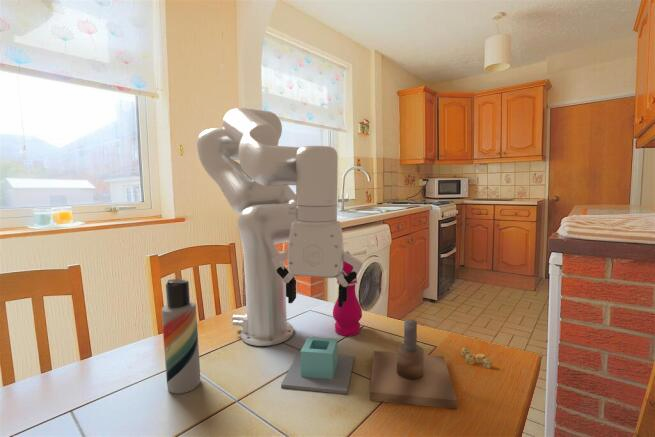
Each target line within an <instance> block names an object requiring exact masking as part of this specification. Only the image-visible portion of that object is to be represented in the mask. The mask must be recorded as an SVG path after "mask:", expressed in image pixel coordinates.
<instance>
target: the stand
mask: <svg viewBox="0 0 655 437" xmlns="http://www.w3.org/2000/svg"><path fill="white" fill-rule="evenodd" d="M403 323H404V324H403V325H404V327H403V328H404V331H403V332H404V335H403V336H404V338H403V340H404V341H403V343H400V344H398V345H397V346H396V352H393V351H383V350H382V351H381V350H373V353H372V362H371V363H372V366H371V375H370V376H371V377H370V384H369V400H370V401H375V402H385V403H395V404H402V405H403V404H404V405H405V404H406V405H412V406H413V405H415V406H424V407H433V408H434V407H435V408H445V409H453V410H454V409H457V407H458V398H457V396H456V393H455V390H454V386H453V382H452V380H451V377H450V372H449V369H448V367H447V366H448V365H447V362H446V359H445V356H444V355H435V354H424V353H425V350H424V348H423V347H422V346H420V345H418V344H417V339H418V338H417V335H418V333H417V332H418V330H417V328H418V327H417V326H418V321H417V320H415V319H411V318H409V319H408V318H407V319H405V320H404V321H403Z"/></svg>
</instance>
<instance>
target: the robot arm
mask: <svg viewBox="0 0 655 437" xmlns="http://www.w3.org/2000/svg"><path fill="white" fill-rule="evenodd" d="M282 132H283V125H282V122H281V120H280V118H279V116H278V115H277V114H276V113H274V112H272V111H270V110H263V109H256V108H255V109H254V108H245V107H236V108H232V109H230V110H228V111H227V112H226V113H225V115H224V117H223V118H222V127H213V128H209V129H205V130H203V131H202V132H201V133H199V135H198V137H197V140H196V141H197V142H196V149H197V150H196V151H197V154H198V155H197V156H198V158H199V160H200V163H201V165H202V167H203V169H204V171H205V172H206V173H207V174H208V176H209V177H210V178H211V179H212V180H213V181H214V182H215V183H216V184H217V185H218V187H219V189H220V191H221V192H222V194H223V196H224V197H225V199H226V200H227V203H229V206H230V207H231V209H232V210H233V211H234V212H235V214H236V215H237V214H238V215H239V216H238V218H237V227H238V228H237V230H238V233H239V238H240V242H241V246H242V255H243V269H244V288H245V290H244V291H245V311H246V312H245V313H246V314H245V315H242V314H233V316H232V318H231V320H232V326H233V327H241V328H242V329H241V330H240V339H241V340H242V341H243V342H244V343H246V344H248V345H252V346H257V347H258V346H259V347H264V346H265V347H268V346H274V345H277V344H281V343H283V342H286V341H287V340H289V339H290V338H291V337H292V336H293V335H294V326H293V325H292V323H290V322H289V321H287V317H288V316H287V302H288V304H293V302H294V301H295V300H296V298H297V279H296V278H295V276H296V277H297V276H298V277H307V278H308V277H309V278H325V279H333V278H334V279H336V281H337V280H338V281H339V282H340V285H339V284H338V295H337V298H338V306H339V307H343V304H344V302H347V293H348V284H349V283H350V282H352V281H353V280H354V279H355V278H356V277H357V276H358V275H359V273H360V271H361V269H362V267H363V265H364V263H363V262H362V260H360V259H358V258H356V257H354V256H352V255H351V254H350V255H349V254H347V253H345V251H344V238H343V236H344V235H343V229H342V225H341V221H339V220H338V162H339V161H338V160H339V159H338V157H339V156H338V152H337V150H336V148H335V147H332V146H328V145H327V146H326V145H306V146H299V147H298V146H283V145H279V140H280V138H281V136H282ZM237 161H238V162H237ZM290 186H295V192H294V191H293V189H292V188H291V187H290ZM282 243H288V248H287V251H284V252H283V253H280V252H279V250H278V249H277V247H276V245H278V244H282ZM286 260H287V268H286V264H285V261H286ZM344 261H345V262H347V263H349V264H350V265H352V266H353V270H352V271H351V272H350V273H349V274H348V275H347V274H346V273H345V272H344V271H343V270H342V269H343V267H344Z"/></svg>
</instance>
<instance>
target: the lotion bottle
mask: <svg viewBox="0 0 655 437" xmlns="http://www.w3.org/2000/svg"><path fill="white" fill-rule="evenodd" d="M165 294H166V304H165V305H164V306H163V307H162V308H161V321H162V322H161V324H162V336H163V338H162V339H163V349H164V363H165V375H166V387H167V390H168V391H169V392H170V393H172V394H176V395H177V394H178V395H179V394H185V393H188V392H191V391H192V390H194V389H196V388H197V387H198V386H199V385H200V383H201V366H200V365H201V364H200V350H199V347H200V346H199V332H198V318H197V305H196V302H194V301H191V296H190V295H191V294H190V282H189V280H187V279H184V278H171V279H168V280H167V281H166V283H165Z"/></svg>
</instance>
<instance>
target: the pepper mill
mask: <svg viewBox="0 0 655 437" xmlns="http://www.w3.org/2000/svg"><path fill="white" fill-rule="evenodd" d="M344 252H345V253H347V254H349V255H351V252H350V251H349V250H345V251H344ZM342 270H343V271H344V272H345V273H346V274H347V275H348V274H349V273H350V272H351V271H352V270H353V266H352V265H350V264H349V263H347V262H345V261H344V267H343V269H342ZM336 283H337V285H338V286H339V285H340V282H339V281H338V280H337V279H336ZM357 284H358V277H357V276H356V278H355V279H354V280H353V281H352V282H350V283H349V284H348V293H347V302H344V304H343V307H339V306H338V297H337V298H336V301H335V303H334V305H333V310H332V317H333V319H334V320H335V323H334V332H335V333H336V334H338V335H340V336H345V337H352V336H355V335H358V334H359V333H360V332H361V322H360V320H361V319H362V318H363V317H362V316H363V310H362V307H361V304H360V302H359V300H358V297H357V295H356V294H357V293H356V285H357Z"/></svg>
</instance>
